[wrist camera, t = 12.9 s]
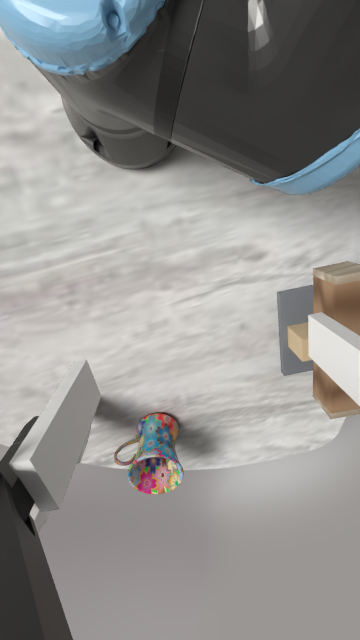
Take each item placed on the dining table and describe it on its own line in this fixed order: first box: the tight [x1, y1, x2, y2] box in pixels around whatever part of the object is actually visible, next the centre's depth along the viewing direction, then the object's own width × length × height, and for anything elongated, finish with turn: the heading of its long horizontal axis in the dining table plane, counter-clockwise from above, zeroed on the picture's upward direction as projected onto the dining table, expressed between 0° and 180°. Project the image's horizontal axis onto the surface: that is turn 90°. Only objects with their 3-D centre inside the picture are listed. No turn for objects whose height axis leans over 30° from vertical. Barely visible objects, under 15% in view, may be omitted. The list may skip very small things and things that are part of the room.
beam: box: [313, 262, 360, 419], centre depth 36 cm, size 22×5×5 cm, turn 11°
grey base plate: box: [277, 285, 314, 376], centre depth 42 cm, size 16×10×6 cm, turn 11°
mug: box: [114, 413, 183, 494], centre depth 47 cm, size 12×9×11 cm
